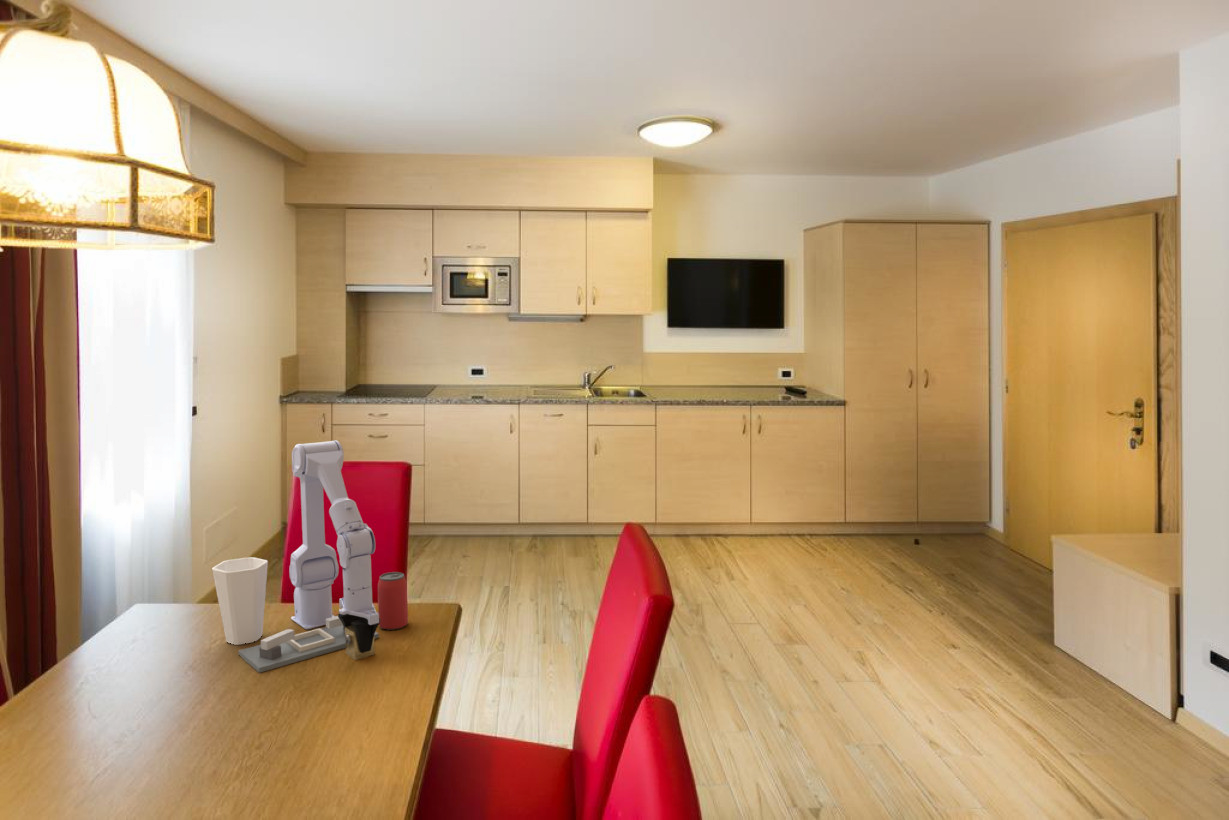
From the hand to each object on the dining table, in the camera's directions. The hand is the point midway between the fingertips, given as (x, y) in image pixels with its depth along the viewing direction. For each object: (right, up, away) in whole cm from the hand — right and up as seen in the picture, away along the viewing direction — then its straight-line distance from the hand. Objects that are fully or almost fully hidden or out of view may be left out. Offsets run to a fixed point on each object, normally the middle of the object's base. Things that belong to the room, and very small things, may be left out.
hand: (360, 647), depth 170 cm
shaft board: (-12, -1, +4) cm, 13 cm away
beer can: (+3, 0, +16) cm, 16 cm away
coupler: (0, -1, 0) cm, 1 cm away
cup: (-29, -1, +9) cm, 30 cm away
